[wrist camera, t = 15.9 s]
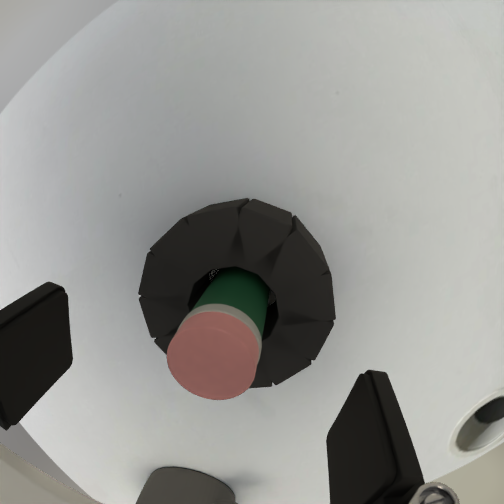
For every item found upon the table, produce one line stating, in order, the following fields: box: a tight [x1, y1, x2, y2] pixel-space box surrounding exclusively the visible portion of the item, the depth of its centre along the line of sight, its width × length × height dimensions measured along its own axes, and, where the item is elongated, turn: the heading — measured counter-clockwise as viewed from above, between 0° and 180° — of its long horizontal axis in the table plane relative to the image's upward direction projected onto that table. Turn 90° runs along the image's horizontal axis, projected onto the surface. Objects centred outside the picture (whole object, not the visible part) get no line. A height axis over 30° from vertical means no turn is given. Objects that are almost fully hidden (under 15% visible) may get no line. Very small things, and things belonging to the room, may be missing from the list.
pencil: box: [167, 266, 270, 400], centre depth 14 cm, size 3×3×8 cm
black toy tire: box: [138, 198, 336, 388], centre depth 16 cm, size 9×9×4 cm
